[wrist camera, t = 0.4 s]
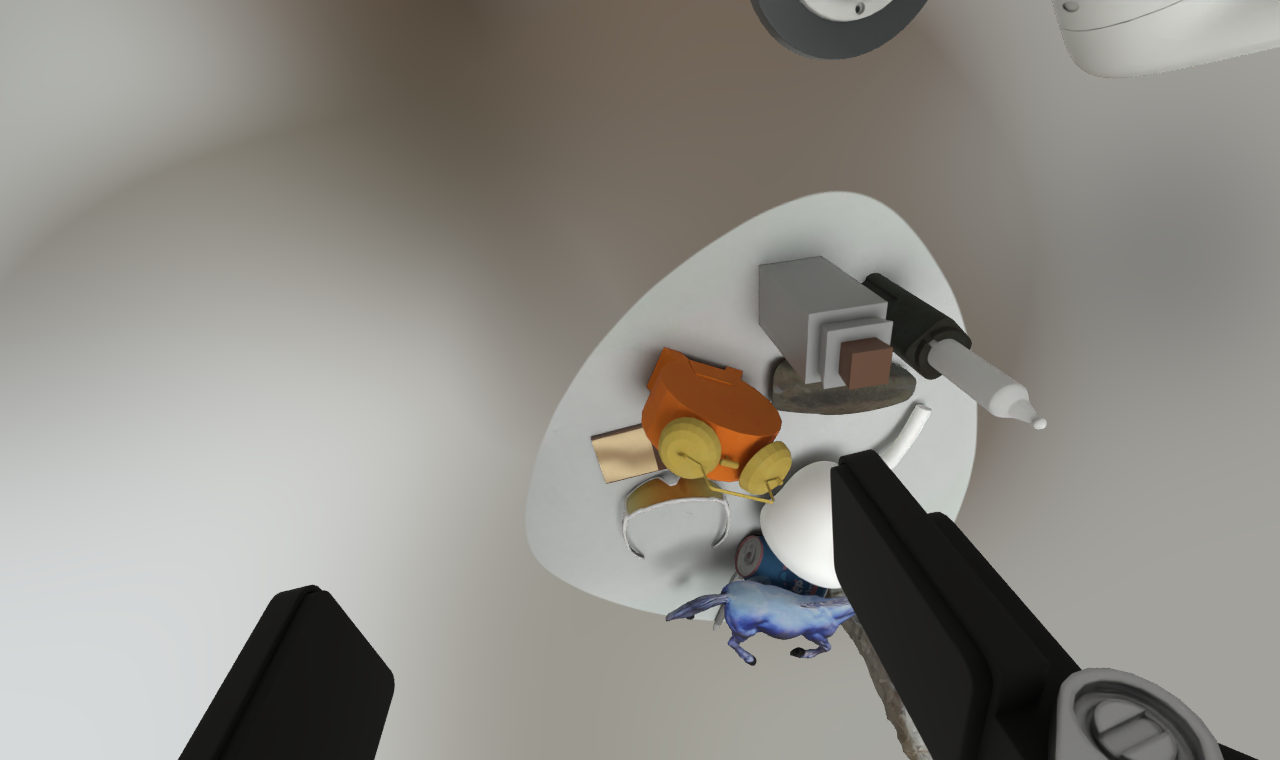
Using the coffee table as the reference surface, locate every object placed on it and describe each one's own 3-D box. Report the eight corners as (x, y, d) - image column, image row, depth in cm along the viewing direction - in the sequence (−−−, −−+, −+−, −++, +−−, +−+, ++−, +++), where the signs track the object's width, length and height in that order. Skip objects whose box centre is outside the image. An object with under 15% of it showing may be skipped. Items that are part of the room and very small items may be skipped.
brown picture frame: (591, 436, 64) (591, 439, 63) (704, 407, 63) (705, 411, 63) (606, 480, 67) (606, 484, 67) (713, 454, 67) (714, 457, 66)
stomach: (850, 525, 82) (910, 385, 73) (922, 587, 71) (1002, 432, 63) (731, 543, 72) (784, 383, 63) (794, 620, 61) (869, 439, 52)
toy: (845, 663, 74) (910, 619, 65) (658, 668, 67) (699, 619, 57) (826, 608, 80) (883, 560, 70) (650, 607, 72) (687, 553, 62)
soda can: (825, 615, 71) (754, 585, 68) (792, 604, 78) (726, 576, 74) (837, 564, 74) (770, 533, 70) (804, 557, 80) (741, 528, 77)
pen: (737, 566, 78) (746, 567, 78) (708, 627, 84) (716, 628, 84) (738, 571, 77) (747, 573, 77) (708, 633, 83) (717, 634, 83)
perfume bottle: (758, 324, 59) (826, 411, 43) (758, 265, 55) (832, 336, 40) (817, 315, 59) (906, 398, 44) (821, 256, 56) (918, 323, 40)
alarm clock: (631, 387, 61) (655, 508, 44) (651, 341, 58) (684, 450, 41) (733, 415, 64) (792, 537, 47) (755, 373, 62) (827, 486, 45)
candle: (866, 329, 61) (1028, 466, 39) (839, 303, 59) (995, 433, 37) (901, 296, 59) (1091, 420, 37) (875, 268, 57) (1060, 382, 35)
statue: (854, 576, 82) (985, 806, 56) (807, 587, 82) (917, 821, 56) (854, 542, 78) (995, 772, 52) (805, 554, 78) (922, 789, 52)
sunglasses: (724, 460, 67) (734, 490, 63) (723, 531, 77) (732, 562, 73) (613, 477, 67) (617, 509, 63) (626, 547, 76) (630, 579, 72)
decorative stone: (760, 403, 64) (772, 422, 60) (768, 355, 61) (780, 372, 57) (894, 398, 66) (912, 416, 62) (908, 352, 63) (928, 368, 59)
